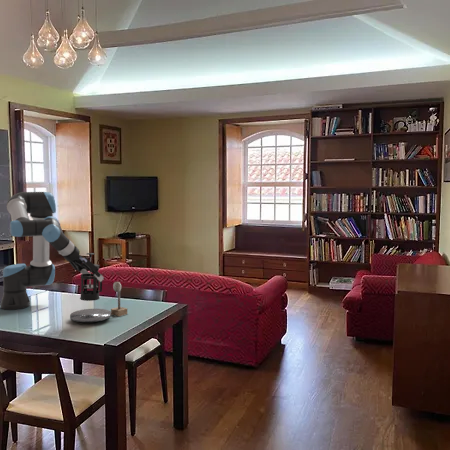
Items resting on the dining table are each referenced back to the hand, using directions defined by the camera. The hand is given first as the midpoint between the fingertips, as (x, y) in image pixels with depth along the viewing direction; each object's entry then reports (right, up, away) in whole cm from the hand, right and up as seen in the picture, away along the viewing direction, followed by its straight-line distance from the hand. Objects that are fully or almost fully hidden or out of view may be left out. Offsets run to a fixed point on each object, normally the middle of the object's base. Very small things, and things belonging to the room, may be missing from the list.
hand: (95, 278), depth 239 cm
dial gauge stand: (+9, -20, +11) cm, 25 cm away
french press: (-2, -10, -2) cm, 10 cm away
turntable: (-2, -19, -1) cm, 19 cm away
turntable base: (-2, -21, -1) cm, 21 cm away
